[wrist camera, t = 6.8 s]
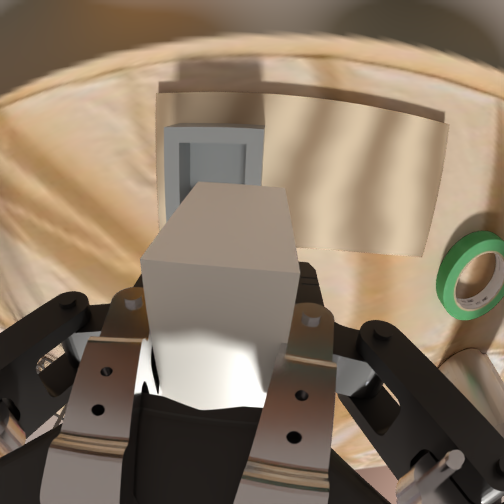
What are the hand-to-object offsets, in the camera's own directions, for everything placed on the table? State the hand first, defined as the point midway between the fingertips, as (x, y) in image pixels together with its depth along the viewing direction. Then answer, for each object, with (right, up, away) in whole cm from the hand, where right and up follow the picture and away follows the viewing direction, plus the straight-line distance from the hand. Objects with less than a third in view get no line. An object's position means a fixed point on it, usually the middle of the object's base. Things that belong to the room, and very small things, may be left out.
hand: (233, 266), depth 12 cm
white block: (0, 0, +1) cm, 1 cm away
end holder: (-2, +7, +16) cm, 17 cm away
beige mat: (+5, +8, +16) cm, 18 cm away
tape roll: (+27, -2, +20) cm, 34 cm away
